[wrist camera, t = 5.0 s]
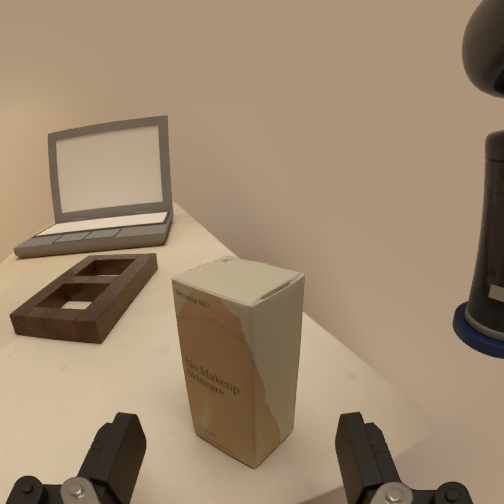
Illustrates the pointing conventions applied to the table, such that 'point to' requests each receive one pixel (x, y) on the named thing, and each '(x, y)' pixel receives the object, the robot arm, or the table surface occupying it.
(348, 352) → the table surface
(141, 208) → the laptop
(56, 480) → the table surface
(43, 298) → the socket pad
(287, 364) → the box
